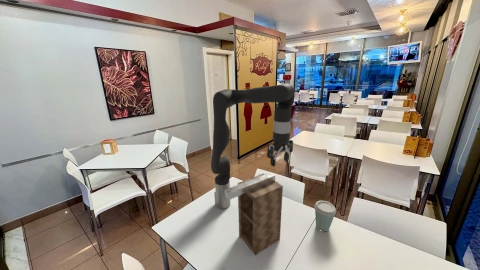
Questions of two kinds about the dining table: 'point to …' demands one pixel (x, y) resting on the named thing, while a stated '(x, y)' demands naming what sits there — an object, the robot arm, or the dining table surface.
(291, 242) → the dining table surface
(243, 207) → the walnut shelf
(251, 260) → the dining table surface
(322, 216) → the disposable coffee cup
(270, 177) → the metal bar
